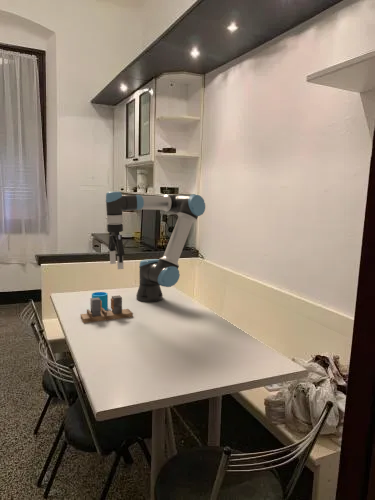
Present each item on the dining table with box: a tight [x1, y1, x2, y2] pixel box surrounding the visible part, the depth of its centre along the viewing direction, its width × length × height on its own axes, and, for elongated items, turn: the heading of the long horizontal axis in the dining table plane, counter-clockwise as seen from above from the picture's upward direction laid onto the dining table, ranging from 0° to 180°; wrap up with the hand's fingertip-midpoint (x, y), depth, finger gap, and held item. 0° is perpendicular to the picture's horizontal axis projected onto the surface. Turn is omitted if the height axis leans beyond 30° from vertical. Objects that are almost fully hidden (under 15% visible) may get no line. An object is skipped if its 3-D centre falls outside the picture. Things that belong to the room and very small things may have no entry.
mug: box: [91, 291, 109, 311], centre depth 206 cm, size 12×8×8 cm
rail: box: [80, 295, 134, 324], centre depth 191 cm, size 24×7×10 cm, turn 116°
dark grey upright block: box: [89, 297, 102, 317], centre depth 188 cm, size 5×4×8 cm
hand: (116, 266), depth 194 cm, fingers open, 13 cm apart
